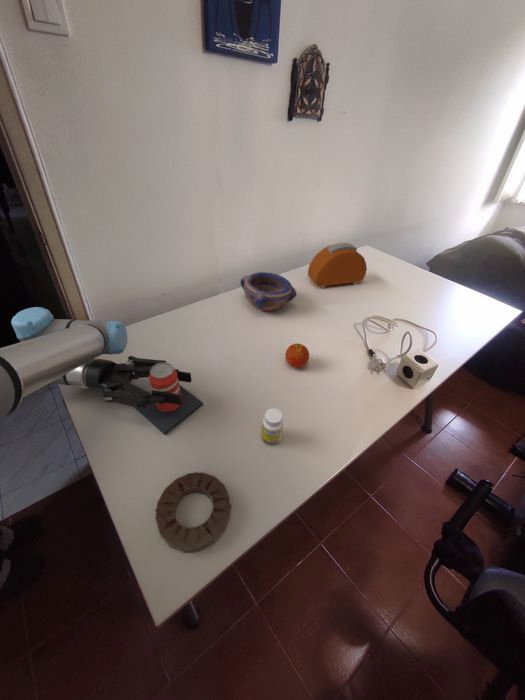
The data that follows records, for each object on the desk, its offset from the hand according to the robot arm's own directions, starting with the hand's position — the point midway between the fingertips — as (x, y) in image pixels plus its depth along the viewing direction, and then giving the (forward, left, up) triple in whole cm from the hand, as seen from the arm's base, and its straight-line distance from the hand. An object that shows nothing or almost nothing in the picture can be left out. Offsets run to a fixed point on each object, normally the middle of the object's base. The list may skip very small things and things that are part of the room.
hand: (185, 388), depth 73 cm
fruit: (+32, -11, -8) cm, 35 cm away
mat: (-3, +4, -8) cm, 9 cm away
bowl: (+52, +16, -8) cm, 56 cm away
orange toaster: (+87, +6, -8) cm, 88 cm away
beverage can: (-3, +4, -7) cm, 9 cm away
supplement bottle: (+7, -21, -8) cm, 23 cm away
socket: (-16, -20, -8) cm, 26 cm away
